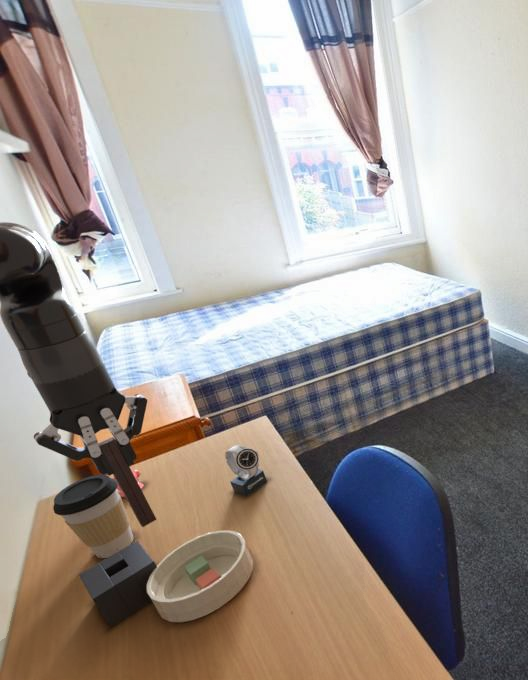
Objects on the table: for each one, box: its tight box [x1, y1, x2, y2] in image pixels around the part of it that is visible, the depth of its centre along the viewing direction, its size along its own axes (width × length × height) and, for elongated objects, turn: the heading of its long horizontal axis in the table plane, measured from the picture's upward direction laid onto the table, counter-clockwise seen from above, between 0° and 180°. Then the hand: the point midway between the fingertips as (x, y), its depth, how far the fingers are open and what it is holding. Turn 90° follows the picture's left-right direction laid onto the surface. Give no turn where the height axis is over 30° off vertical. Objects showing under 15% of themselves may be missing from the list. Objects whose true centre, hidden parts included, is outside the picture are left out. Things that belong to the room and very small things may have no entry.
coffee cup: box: [52, 474, 134, 559], centre depth 94 cm, size 10×10×15 cm
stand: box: [78, 540, 157, 628], centre depth 83 cm, size 9×9×7 cm
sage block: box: [184, 556, 211, 586], centre depth 86 cm, size 3×3×3 cm
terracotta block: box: [195, 568, 221, 590], centre depth 83 cm, size 3×3×3 cm
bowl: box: [147, 529, 254, 623], centre depth 84 cm, size 15×15×6 cm
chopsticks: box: [98, 436, 157, 528], centre depth 73 cm, size 2×1×16 cm, turn 144°
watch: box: [224, 444, 268, 497], centre depth 108 cm, size 6×8×11 cm
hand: (120, 467), depth 72 cm, fingers closed on chopsticks
